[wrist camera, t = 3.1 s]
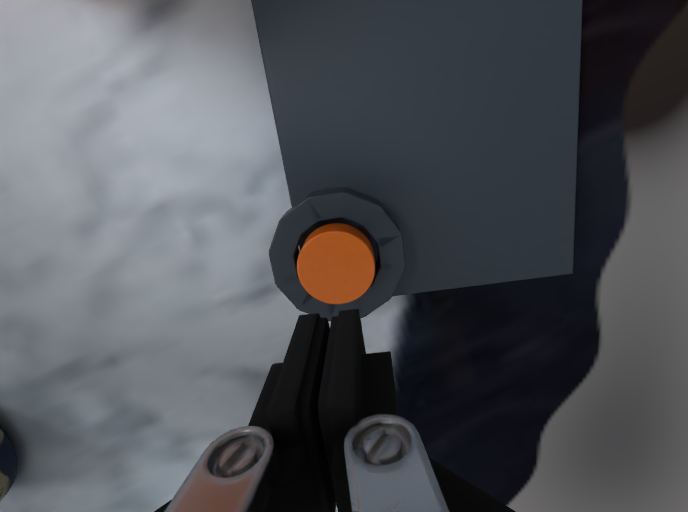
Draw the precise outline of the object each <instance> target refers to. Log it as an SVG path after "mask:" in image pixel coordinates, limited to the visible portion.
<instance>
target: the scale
mask: <svg viewBox="0 0 688 512" xmlns="http://www.w3.org/2000/svg"><path fill="white" fill-rule="evenodd" d="M251 2H252V7H253V12H254V17H255V22H256V27H257V32H258V37H259V42H260V47H261V53H262V58H263V63H264V68H265V73H266V78H267V83H268V88H269V93H270V98H271V103H272V109H273V114H274V119H275V124H276V129H277V134H278V139H279V144H280V149H281V154H282V159H283V165H284V170H285V175H286V180H287V185H288V190H289V195H290V200H291V205H292V208H291V209H289V210H288V211H287V212H286V213H285V214H284V215H283V217H282V218H281V219H280V221H279V223H278V226H277V229H276V232H275V235H274V238H273V240H272V243H271V246H270V249H269V257H270V262H271V266H272V270H273V275H274V279H275V284H276V285H277V287H278V288H279V289H280V290H281V291H282V292H283V293H284V294H285V296H286V297H287V298H288V299H289V300H290V301H291V302H292V303H293V304H294V305H295V307H296V308H297V309H299V310H300V311H302V312H305V313H308V314H316V313H319V314H320V317H321V318H325V317H327V319H328V321H331V320H332V317H334V316H338V314H339V311H342V310H350V309H359V314H360V318H363V317H365V316H367V315H368V314H370V313H371V312H372V311H374V310H375V309H377V308H378V307H380V306H381V305H382V304H384V303H385V302H387V301H388V300H390V299H391V297H392V296H398V295H406V294H414V293H421V292H429V291H437V290H445V289H453V288H461V287H469V286H477V285H485V284H493V283H501V282H509V281H517V280H525V279H533V278H541V277H549V276H557V275H565V274H572V273H573V257H574V228H575V200H576V171H577V142H578V114H579V85H580V57H581V28H582V0H251ZM331 223H343V224H347V225H350V226H353V227H355V228H357V229H358V230H360V231H361V232H362V233H363V234H364V235H365V236H366V237H367V238H368V240H369V241H370V243H371V245H372V248H373V252H374V259H375V276H374V279H373V282H372V284H371V286H370V287H369V289H368V290H367V291H366V292H365V293H364V294H363V295H362V296H361V297H359V298H358V299H356V300H354V301H352V302H349V303H344V304H329V303H325V302H322V301H320V300H317V299H316V298H314V297H313V296H311V295H310V294H309V293H308V292H307V291H306V290H305V289H304V287H303V286H302V284H301V282H300V280H299V277H298V273H297V260H298V256H299V248H298V245H299V246H300V251H301V249H302V247H303V245H304V242H305V241H306V239H307V237H308V236H309V235H310V234H311V233H312V232H313V231H314V230H316V229H317V228H319V227H321V226H324V225H327V224H331Z"/></svg>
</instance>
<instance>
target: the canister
mask: <svg viewBox="0 0 688 512" xmlns="http://www.w3.org/2000/svg"><path fill="white" fill-rule="evenodd" d="M16 472H17V460H16V455H15V452H14V449H13V447H12V445H11V443H10V441H9V439H8V438H7V436H6V435H5V434H4V432H3V431H2V430H1V429H0V501H1V499H2V498H3V497H4V496H5V495H6V493H7V492H8V491H9V489H10V488H11V486H12V484H13V482H14V479H15V477H16Z"/></svg>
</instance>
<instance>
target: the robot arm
mask: <svg viewBox="0 0 688 512" xmlns="http://www.w3.org/2000/svg"><path fill="white" fill-rule="evenodd" d="M336 503H337V508H338V512H515V511H514V510H512V509H510V508H509V507H507V506H506V505H504V504H502V503H501V502H499V501H498V500H496V499H494V498H493V497H491V496H490V495H488V494H486V493H485V492H483V491H482V490H480V489H478V488H477V487H475V486H474V485H472V484H470V483H469V482H467V481H466V480H464V479H462V478H461V477H459V476H458V475H456V474H454V473H453V472H451V471H450V470H448V469H446V468H445V467H443V466H442V465H440V464H438V463H437V462H435V461H434V460H432V459H430V458H429V457H428V456H427V453H426V451H425V448H424V446H423V443H422V440H421V438H420V435H419V433H418V431H417V430H416V428H415V427H414V425H413V424H411V423H410V422H409V421H408V420H406V419H404V418H402V417H399V414H398V406H397V398H396V390H395V382H394V375H393V367H392V359H391V352H380V353H371V354H366V352H365V346H364V339H363V333H362V326H361V320H360V314H359V309H350V310H342V311H339V314H338V316H334V317H332V320H331V326H330V329H329V323H328V319H327V317H325V318H321V317H320V314H319V313H316V314H307V315H300V316H299V318H298V321H297V324H296V327H295V329H294V332H293V335H292V338H291V341H290V344H289V347H288V350H287V353H286V356H285V359H284V362H283V363H276V364H273V365H272V366H271V368H270V371H269V373H268V376H267V379H266V381H265V384H264V386H263V389H262V392H261V394H260V397H259V399H258V402H257V404H256V407H255V410H254V412H253V415H252V417H251V420H250V423H249V425H248V426H245V427H240V428H236V429H233V430H230V431H229V432H227V433H225V434H223V435H221V436H220V437H218V438H217V439H216V440H214V441H213V442H212V443H211V444H210V445H209V446H208V448H207V449H206V450H205V451H204V452H203V454H202V455H201V457H200V458H199V460H198V461H197V463H196V464H195V466H194V467H193V469H192V470H191V472H190V474H189V475H188V477H187V478H186V480H185V481H184V483H183V484H182V486H181V487H180V489H179V490H178V492H177V493H176V495H175V496H174V498H173V499H172V500H170V501H169V502H167V503H166V504H164V505H163V506H162V507H160V508H159V509H157V510H156V511H154V512H335V510H336Z"/></svg>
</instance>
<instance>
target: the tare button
mask: <svg viewBox="0 0 688 512" xmlns="http://www.w3.org/2000/svg"><path fill="white" fill-rule="evenodd" d="M297 273H298V277H299V280H300V282H301V284H302V286H303V287H304V289H305V290H306V291H307V292H308V293H309V294H310V295H311V296H313V297H314V298H316V299H317V300H320V301H322V302H325V303H329V304H344V303H349V302H352V301H354V300H356V299H358V298H359V297H361V296H362V295H363V294H364V293H365V292H366V291H367V290H368V289H369V287H370V286H371V284H372V282H373V279H374V276H375V259H374V252H373V248H372V245H371V243H370V241H369V240H368V238H367V237H366V236H365V235H364V234H363V233H362V232H361V231H360V230H358V229H357V228H355V227H353V226H350V225H347V224H343V223H331V224H327V225H324V226H321V227H319V228H317V229H316V230H314V231H313V232H312V233H311V234H310V235H309V236H308V237H307V239H306V241H305V242H304V245H303V247H302V249H301V251H300V253H299V256H298V260H297Z"/></svg>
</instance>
